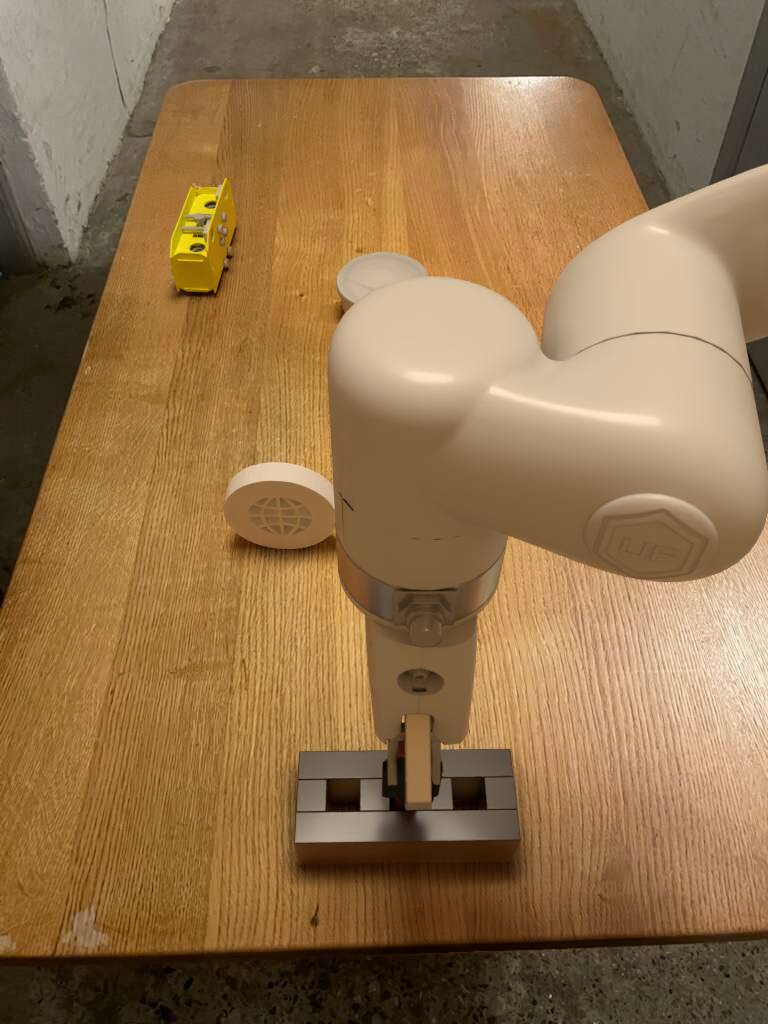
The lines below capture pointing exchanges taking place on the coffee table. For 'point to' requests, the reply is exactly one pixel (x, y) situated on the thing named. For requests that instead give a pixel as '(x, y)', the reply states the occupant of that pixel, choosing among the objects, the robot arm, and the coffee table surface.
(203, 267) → the yellow toy chassis
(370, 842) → the holder
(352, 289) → the ramekin
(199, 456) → the coffee table surface
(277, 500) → the contact lens case
